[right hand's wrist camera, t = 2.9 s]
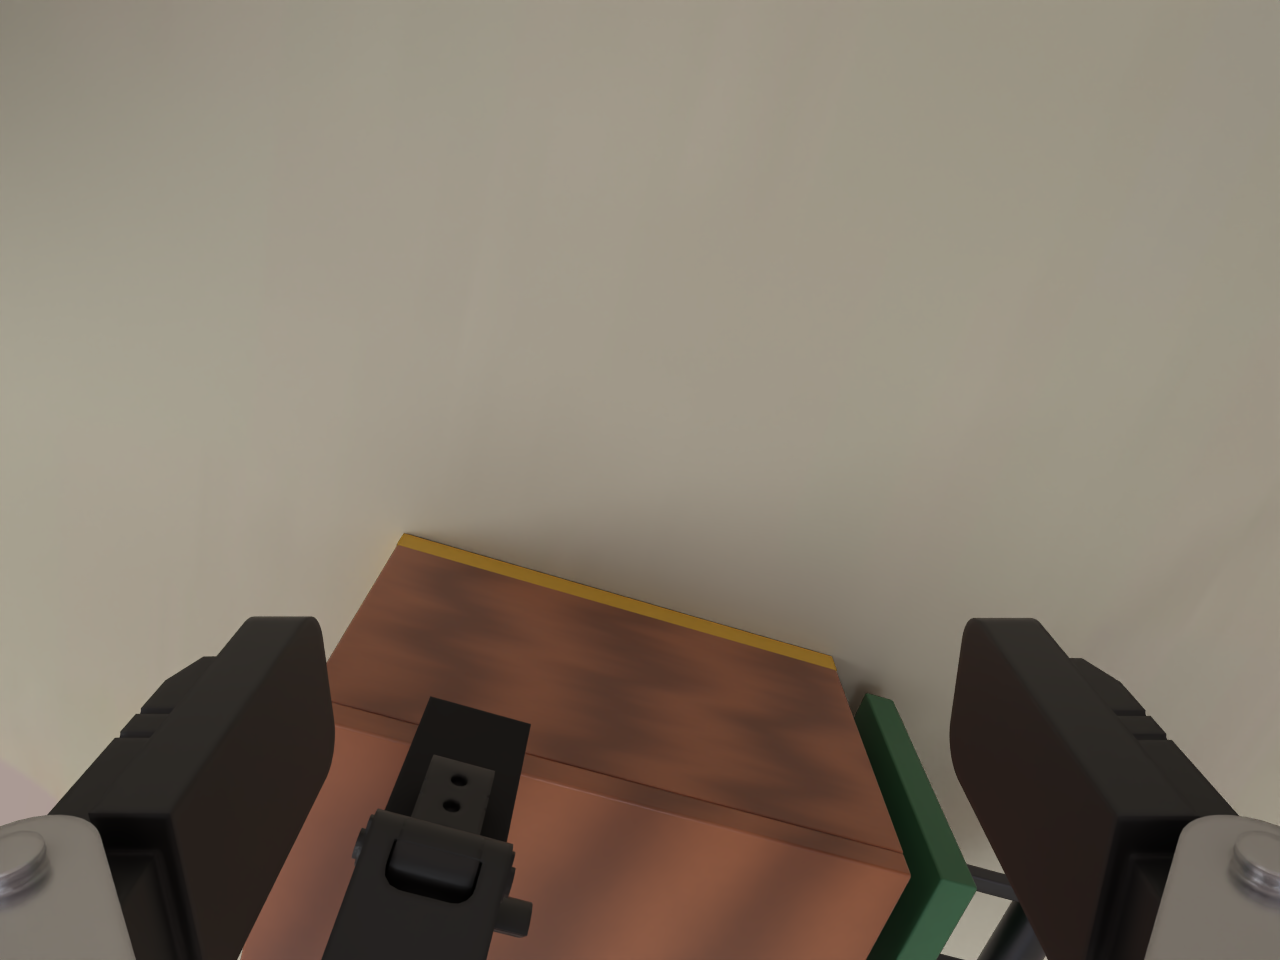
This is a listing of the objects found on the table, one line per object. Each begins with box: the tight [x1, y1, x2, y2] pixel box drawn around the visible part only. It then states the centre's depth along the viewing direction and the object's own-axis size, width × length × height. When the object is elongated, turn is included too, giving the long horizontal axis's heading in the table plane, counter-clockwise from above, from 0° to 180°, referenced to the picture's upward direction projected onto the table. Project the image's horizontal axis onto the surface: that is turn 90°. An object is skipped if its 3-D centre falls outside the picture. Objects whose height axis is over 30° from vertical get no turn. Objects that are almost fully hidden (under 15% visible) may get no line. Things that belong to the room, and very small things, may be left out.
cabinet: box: [241, 533, 911, 960], centre depth 32 cm, size 18×10×12 cm, turn 72°
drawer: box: [854, 693, 1046, 960], centre depth 33 cm, size 23×9×10 cm, turn 72°
